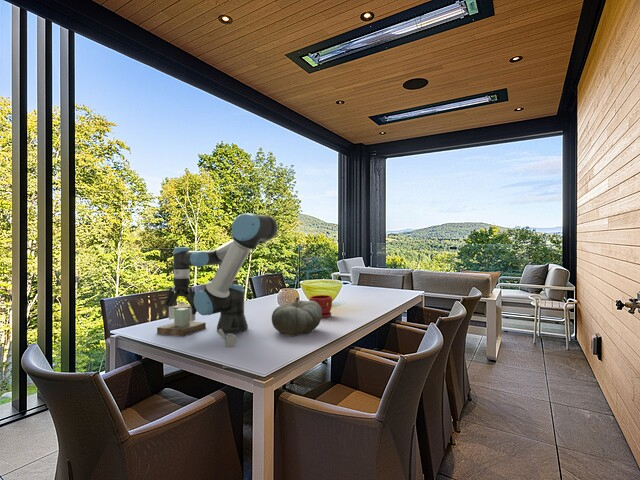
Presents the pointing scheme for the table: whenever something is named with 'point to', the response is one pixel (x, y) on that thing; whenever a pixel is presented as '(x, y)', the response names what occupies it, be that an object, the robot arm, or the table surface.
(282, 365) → the table surface
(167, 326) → the walnut base
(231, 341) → the lighter
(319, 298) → the plant pot
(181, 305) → the teacup with lid
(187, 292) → the robot arm
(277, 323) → the gourd
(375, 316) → the table surface
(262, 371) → the table surface
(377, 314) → the table surface
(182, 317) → the sage pillar block
